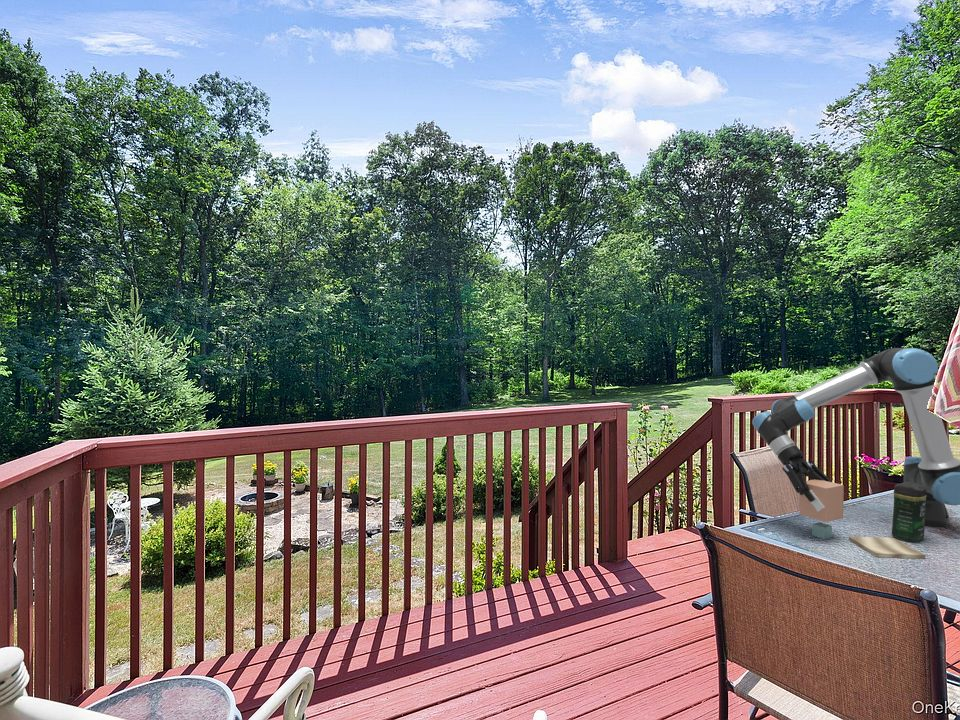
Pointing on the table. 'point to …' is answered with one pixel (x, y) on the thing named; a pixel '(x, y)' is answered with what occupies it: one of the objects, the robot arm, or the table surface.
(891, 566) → the table surface
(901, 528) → the coffee jar
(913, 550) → the pad
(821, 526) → the block
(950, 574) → the table surface
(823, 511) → the cover
